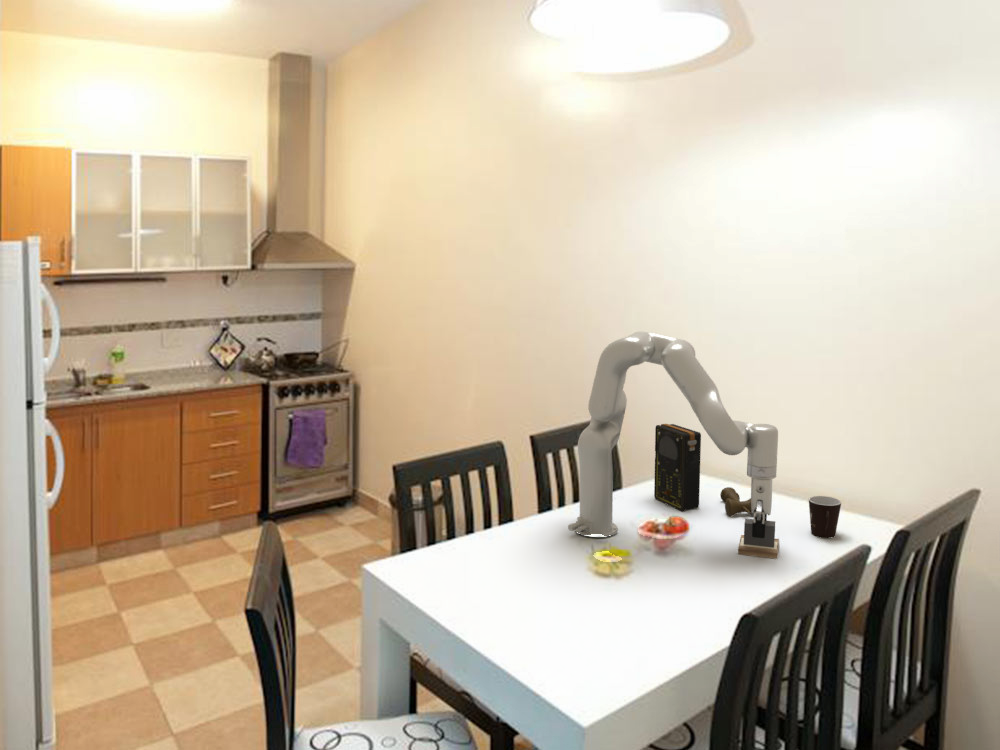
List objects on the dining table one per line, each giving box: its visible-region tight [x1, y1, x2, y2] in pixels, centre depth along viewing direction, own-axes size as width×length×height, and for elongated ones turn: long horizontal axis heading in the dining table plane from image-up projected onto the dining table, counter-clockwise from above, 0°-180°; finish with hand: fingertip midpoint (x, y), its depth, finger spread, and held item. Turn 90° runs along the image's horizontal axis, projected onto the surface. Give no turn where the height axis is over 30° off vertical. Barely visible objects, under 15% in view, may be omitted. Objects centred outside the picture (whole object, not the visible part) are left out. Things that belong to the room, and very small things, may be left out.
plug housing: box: [743, 518, 776, 548], centre depth 216 cm, size 4×8×6 cm, turn 70°
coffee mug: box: [808, 495, 842, 539], centre depth 225 cm, size 12×9×10 cm
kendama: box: [719, 486, 754, 518], centre depth 247 cm, size 6×10×20 cm
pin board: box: [737, 534, 780, 559], centre depth 216 cm, size 11×10×5 cm
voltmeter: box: [653, 423, 702, 512], centre depth 253 cm, size 16×9×25 cm, turn 25°
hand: (759, 531), depth 216 cm, fingers open, 9 cm apart
